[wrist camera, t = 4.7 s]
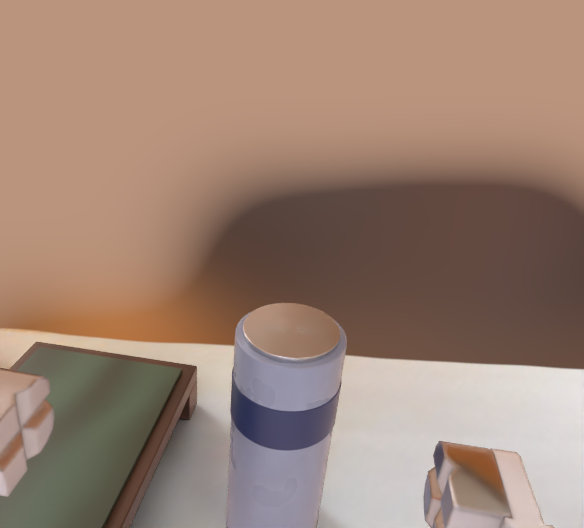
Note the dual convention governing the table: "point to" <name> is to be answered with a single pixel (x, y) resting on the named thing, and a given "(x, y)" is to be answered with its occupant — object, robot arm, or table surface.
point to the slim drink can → (282, 415)
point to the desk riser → (98, 436)
